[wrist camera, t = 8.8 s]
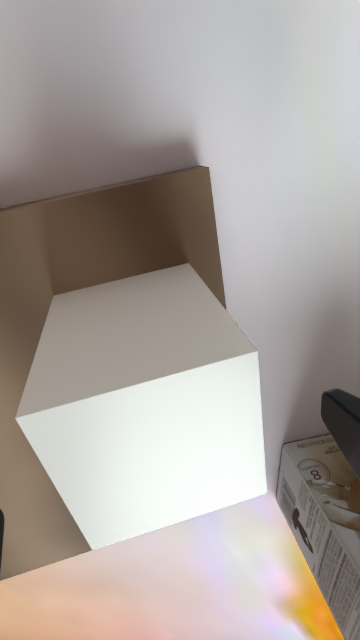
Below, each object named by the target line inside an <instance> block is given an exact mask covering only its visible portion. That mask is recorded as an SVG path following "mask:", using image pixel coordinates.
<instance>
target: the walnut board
mask: <svg viewBox="0 0 360 640" xmlns="http://www.w3.org/2000/svg"><path fill="white" fill-rule="evenodd" d="M186 263H189V264H190V265H191V266H192V268H193V269H194V270H195V272H196V273H197V274H198V275H199V277H200V278H201V279H202V280H203V282H204V283H205V284H206V286H207V287H208V288H209V289H210V291H211V292H212V293H213V294H214V296H215V297H216V298H217V300H218V301H219V302H220V303H221V305H222V306H223V307H224V308H225V310H226V304H225V296H224V288H223V279H222V271H221V263H220V255H219V247H218V238H217V230H216V222H215V214H214V206H213V197H212V189H211V181H210V173H209V167H205V166H196V167H192V168H187V169H183V170H178V171H173V172H169V173H164V174H160V175H155V176H150V177H146V178H141V179H137V180H132V181H127V182H123V183H118V184H113V185H109V186H104V187H100V188H95V189H90V190H86V191H81V192H77V193H72V194H67V195H63V196H58V197H54V198H49V199H44V200H40V201H35V202H31V203H26V204H21V205H17V206H12V207H8V208H3V209H0V509H1V510H2V512H3V514H4V519H5V523H4V536H3V549H2V561H1V574H0V581H1V580H4V579H7V578H10V577H13V576H16V575H19V574H22V573H25V572H28V571H31V570H34V569H37V568H40V567H43V566H46V565H49V564H52V563H55V562H58V561H61V560H64V559H67V558H70V557H73V556H76V555H79V554H82V553H85V552H88V551H91V550H92V549H91V547H90V545H89V544H88V542H87V540H86V538H85V537H84V535H83V533H82V532H81V530H80V528H79V527H78V525H77V523H76V521H75V520H74V518H73V516H72V515H71V513H70V511H69V509H68V508H67V506H66V504H65V503H64V501H63V499H62V497H61V496H60V494H59V492H58V491H57V489H56V487H55V486H54V484H53V482H52V480H51V479H50V477H49V475H48V474H47V472H46V470H45V468H44V467H43V465H42V463H41V462H40V460H39V458H38V456H37V455H36V453H35V451H34V450H33V448H32V446H31V445H30V443H29V441H28V439H27V438H26V436H25V434H24V433H23V431H22V429H21V427H20V426H19V424H18V422H17V421H16V419H15V417H16V414H17V411H18V408H19V404H20V401H21V398H22V395H23V392H24V388H25V385H26V382H27V379H28V376H29V373H30V369H31V366H32V363H33V360H34V357H35V353H36V350H37V347H38V344H39V341H40V337H41V334H42V331H43V328H44V325H45V321H46V318H47V315H48V312H49V309H50V305H51V302H52V299H53V296H54V295H58V294H62V293H67V292H71V291H75V290H79V289H83V288H87V287H91V286H95V285H100V284H104V283H108V282H112V281H116V280H120V279H124V278H129V277H133V276H137V275H141V274H145V273H149V272H153V271H158V270H162V269H166V268H170V267H174V266H178V265H182V264H186Z"/></svg>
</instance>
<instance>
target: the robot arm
mask: <svg viewBox="0 0 360 640" xmlns="http://www.w3.org/2000/svg"><path fill="white" fill-rule="evenodd" d="M321 416H322V419H323V422H324V423H325V425H326V427H327V428H328V430H329V432H330V433H331V435H332V437H333V439H334V440H335V442H336V444H337V445H338V447H339V449H340V450H341V452H342V454H343V455H344V457H345V459H346V461H347V462H348V464H349V466H350V467H351V469H352V470H353V472H354V473H355V475H356V476H357V478H358V479H359V480H360V398H358V397H356V396H354V395H351V394H349V393H347V392H345V391H343V390H340V389H332V390H328V391H325V392H323V394H322V401H321ZM4 523H5V519H4V514H3V512H2V510H1V509H0V574H1V561H2V549H3V536H4Z"/></svg>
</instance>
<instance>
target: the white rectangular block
mask: <svg viewBox="0 0 360 640" xmlns="http://www.w3.org/2000/svg"><path fill="white" fill-rule="evenodd" d="M15 419H16V421H17V422H18V424H19V426H20V427H21V429H22V431H23V433H24V434H25V436H26V438H27V439H28V441H29V443H30V445H31V446H32V448H33V450H34V451H35V453H36V455H37V456H38V458H39V460H40V462H41V463H42V465H43V467H44V468H45V470H46V472H47V474H48V475H49V477H50V479H51V480H52V482H53V484H54V486H55V487H56V489H57V491H58V492H59V494H60V496H61V497H62V499H63V501H64V503H65V504H66V506H67V508H68V509H69V511H70V513H71V515H72V516H73V518H74V520H75V521H76V523H77V525H78V527H79V528H80V530H81V532H82V533H83V535H84V537H85V538H86V540H87V542H88V544H89V545H90V547H91V549H92V550H96V549H99V548H103V547H106V546H109V545H112V544H115V543H118V542H121V541H124V540H127V539H130V538H133V537H136V536H139V535H142V534H145V533H148V532H151V531H154V530H157V529H160V528H163V527H166V526H170V525H173V524H176V523H179V522H182V521H185V520H188V519H191V518H194V517H197V516H200V515H203V514H206V513H209V512H212V511H215V510H218V509H221V508H224V507H227V506H230V505H233V504H236V503H240V502H243V501H246V500H249V499H252V498H255V497H258V496H261V495H264V494H267V485H266V469H265V454H264V438H263V423H262V408H261V392H260V377H259V362H258V350H257V349H256V348H255V347H254V345H253V344H252V343H251V342H250V340H249V339H248V338H247V336H246V335H245V334H244V333H243V331H242V330H241V329H240V328H239V326H238V325H237V324H236V322H235V321H234V320H233V319H232V317H231V316H230V315H229V314H228V312H227V311H226V310H225V308H224V307H223V306H222V305H221V303H220V302H219V301H218V300H217V298H216V297H215V296H214V294H213V293H212V292H211V291H210V289H209V288H208V287H207V286H206V284H205V283H204V282H203V280H202V279H201V278H200V277H199V275H198V274H197V273H196V272H195V270H194V269H193V268H192V266H191V265H190V264H189V263H186V264H182V265H178V266H174V267H170V268H166V269H162V270H158V271H153V272H149V273H145V274H141V275H137V276H133V277H129V278H124V279H120V280H116V281H112V282H108V283H104V284H100V285H95V286H91V287H87V288H83V289H79V290H75V291H71V292H67V293H62V294H58V295H54V296H53V299H52V302H51V305H50V309H49V312H48V315H47V318H46V321H45V325H44V328H43V331H42V334H41V337H40V341H39V344H38V347H37V350H36V353H35V357H34V360H33V363H32V366H31V369H30V373H29V376H28V379H27V382H26V385H25V388H24V392H23V395H22V398H21V401H20V404H19V408H18V411H17V414H16V417H15Z"/></svg>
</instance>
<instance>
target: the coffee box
mask: <svg viewBox="0 0 360 640" xmlns="http://www.w3.org/2000/svg"><path fill="white" fill-rule="evenodd" d="M276 500H277V503H278V505H279V507H280V509H281V511H282V513H283V515H284V517H285V518H286V521H287V523H288V525H289V527H290V529H291V531H292V533H293V535H294V537H295V539H296V541H297V543H298V545H299V547H300V549H301V551H302V553H303V555H304V557H305V559H306V561H307V564H308V566H309V568H310V570H311V572H312V574H313V576H314V578H315V580H316V582H317V584H318V586H319V588H320V590H321V592H322V594H323V596H324V598H325V600H326V602H327V604H328V606H329V609H330V611H331V613H332V614H333V616H334V619H335V621H336V623H337V625H338V627H339V629H340V631H341V633H342V635H343V637H344V639H345V640H360V480H359V479H358V478H357V476H356V475H355V473H354V472H353V470H352V469H351V467H350V466H349V464H348V462H347V461H346V459H345V457H344V455H343V454H342V452H341V450H340V449H339V447H338V445H337V444H336V442H335V440H334V439H333V437H332V435H331V434H329V435H324V436H319V437H315V438H310V439H305V440H300V441H296V442H291V443H287V444H284V445H283V448H282V456H281V464H280V472H279V480H278V489H277V496H276Z"/></svg>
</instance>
